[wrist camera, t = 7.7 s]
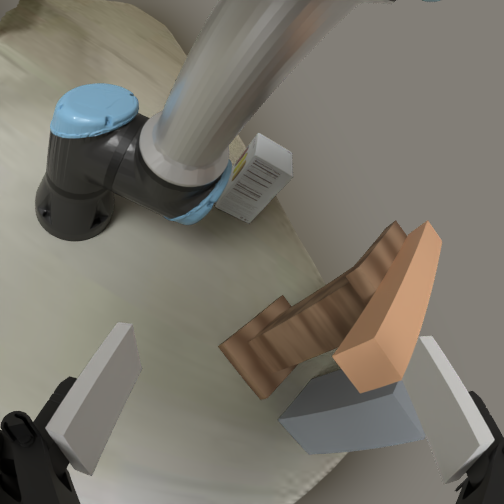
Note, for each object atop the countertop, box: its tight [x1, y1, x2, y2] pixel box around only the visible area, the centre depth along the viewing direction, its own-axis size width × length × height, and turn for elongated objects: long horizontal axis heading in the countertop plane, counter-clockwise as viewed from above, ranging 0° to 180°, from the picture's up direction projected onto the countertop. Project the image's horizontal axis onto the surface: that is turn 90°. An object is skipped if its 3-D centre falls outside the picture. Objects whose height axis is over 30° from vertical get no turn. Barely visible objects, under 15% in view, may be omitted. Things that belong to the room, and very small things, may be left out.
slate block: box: [278, 345, 425, 454], centre depth 43 cm, size 12×10×24 cm
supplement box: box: [215, 133, 293, 224], centre depth 66 cm, size 10×9×17 cm
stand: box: [218, 221, 407, 400], centre depth 45 cm, size 18×12×30 cm, turn 135°
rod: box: [332, 221, 442, 393], centre depth 30 cm, size 30×4×4 cm, turn 135°
